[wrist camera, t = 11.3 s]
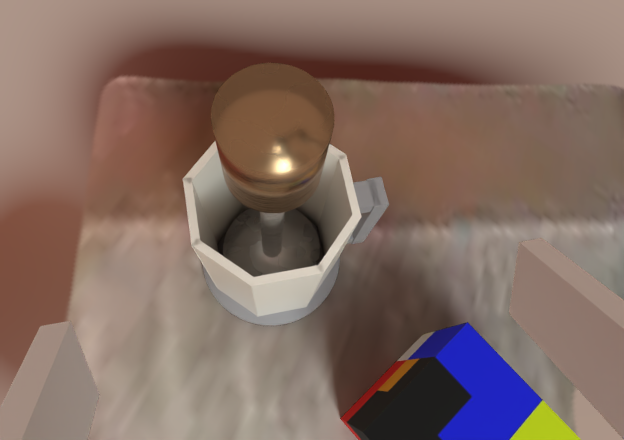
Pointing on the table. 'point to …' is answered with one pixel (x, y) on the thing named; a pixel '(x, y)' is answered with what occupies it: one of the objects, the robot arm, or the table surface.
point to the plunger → (272, 163)
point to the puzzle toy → (453, 396)
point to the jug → (288, 284)
